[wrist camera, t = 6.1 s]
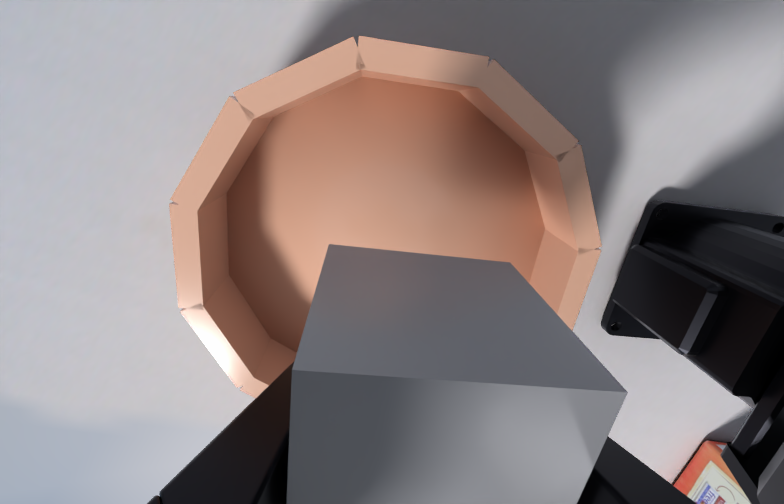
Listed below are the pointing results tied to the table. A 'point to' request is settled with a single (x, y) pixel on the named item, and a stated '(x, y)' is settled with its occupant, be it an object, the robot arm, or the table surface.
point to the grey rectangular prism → (441, 387)
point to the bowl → (371, 191)
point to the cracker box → (710, 478)
